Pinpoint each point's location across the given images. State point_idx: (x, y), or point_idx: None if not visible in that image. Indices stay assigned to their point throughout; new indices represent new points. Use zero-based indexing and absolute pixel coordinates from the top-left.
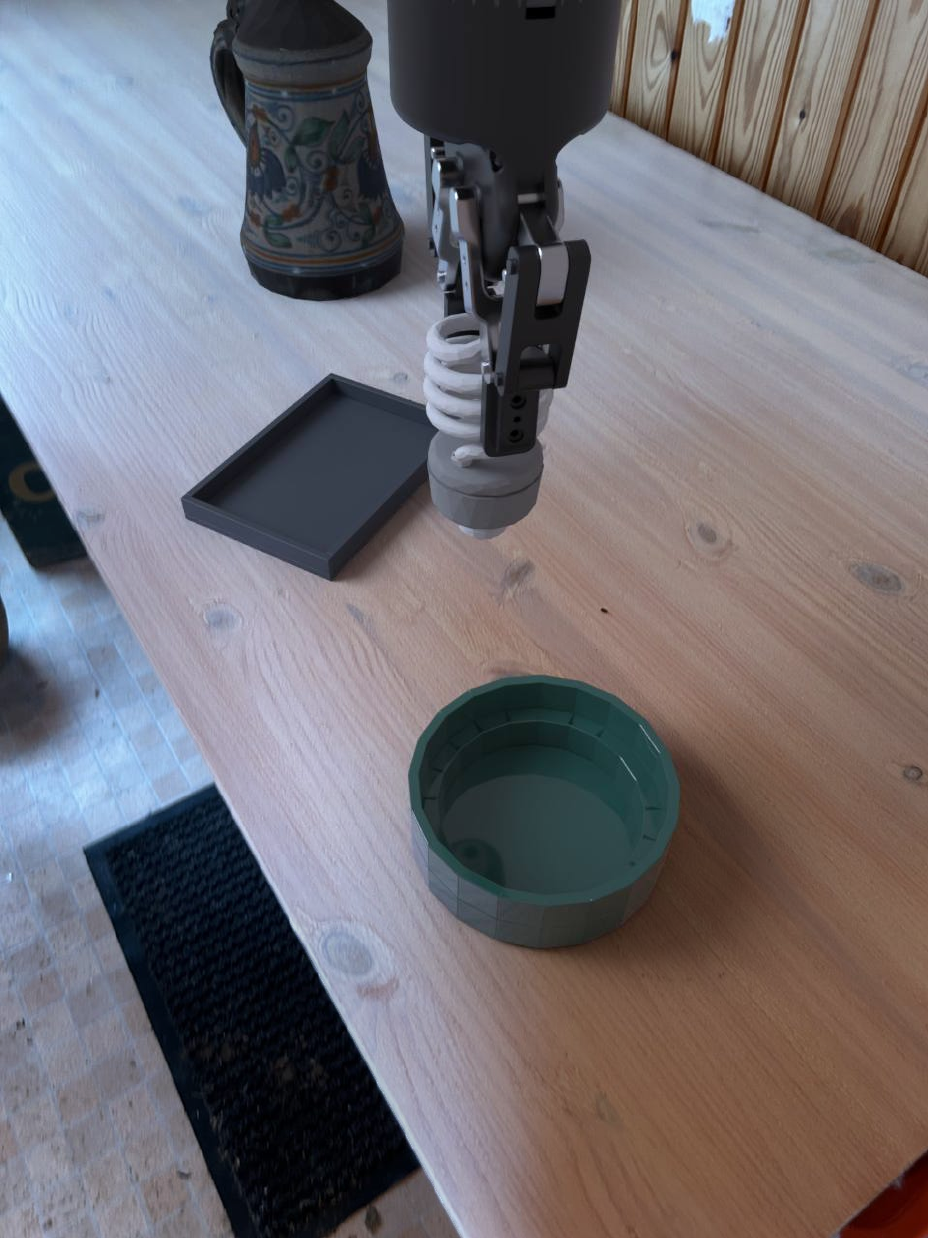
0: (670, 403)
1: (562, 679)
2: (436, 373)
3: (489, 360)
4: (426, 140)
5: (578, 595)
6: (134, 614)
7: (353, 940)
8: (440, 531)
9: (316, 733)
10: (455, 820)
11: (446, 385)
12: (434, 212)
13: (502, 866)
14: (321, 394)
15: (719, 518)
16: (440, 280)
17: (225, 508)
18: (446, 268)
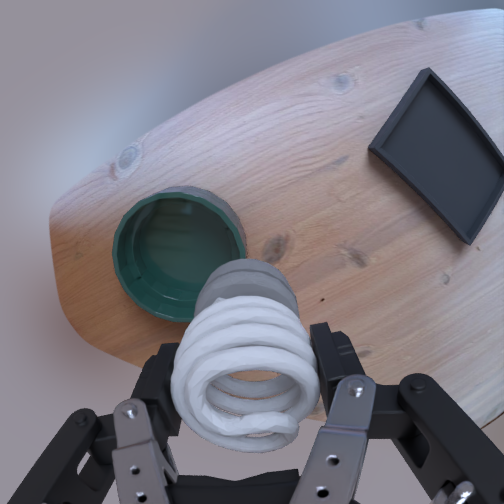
0: (451, 347)
1: None
2: (204, 343)
3: (114, 421)
4: (498, 475)
5: (336, 288)
6: (347, 38)
7: (133, 159)
8: (398, 217)
9: (251, 135)
10: (188, 208)
11: (187, 348)
12: (350, 475)
13: (163, 229)
14: (501, 163)
15: (372, 360)
16: (348, 386)
17: (426, 92)
18: (333, 413)
